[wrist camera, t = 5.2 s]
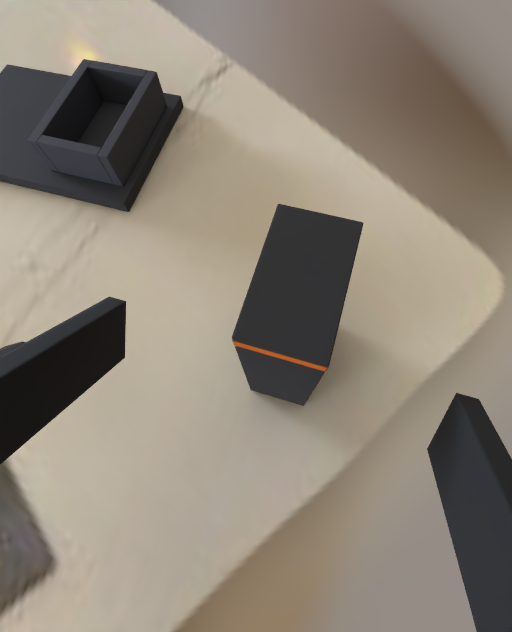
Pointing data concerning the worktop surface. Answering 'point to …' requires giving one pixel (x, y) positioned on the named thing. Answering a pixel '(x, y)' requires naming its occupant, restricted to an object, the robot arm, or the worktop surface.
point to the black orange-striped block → (295, 302)
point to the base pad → (83, 130)
